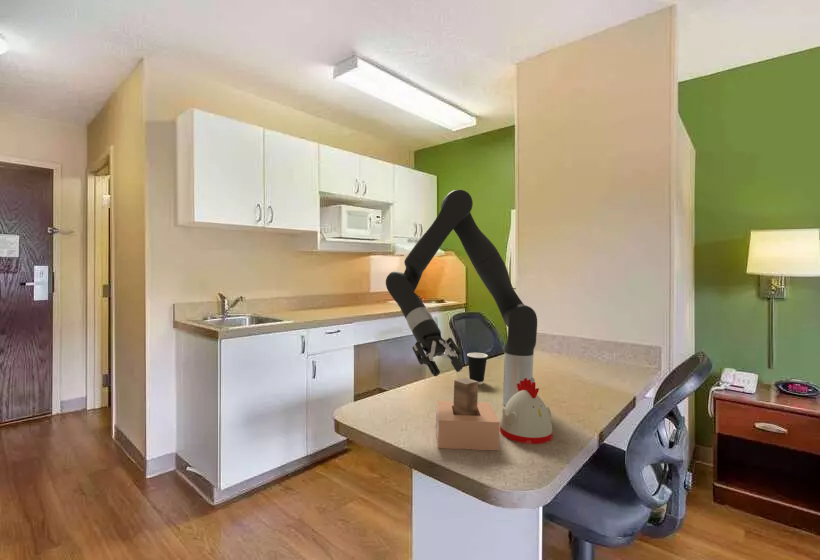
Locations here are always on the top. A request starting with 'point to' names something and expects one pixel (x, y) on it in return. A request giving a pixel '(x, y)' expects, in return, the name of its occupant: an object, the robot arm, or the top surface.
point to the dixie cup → (477, 366)
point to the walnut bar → (465, 397)
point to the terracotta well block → (467, 427)
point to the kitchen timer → (526, 416)
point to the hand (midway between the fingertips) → (449, 372)
